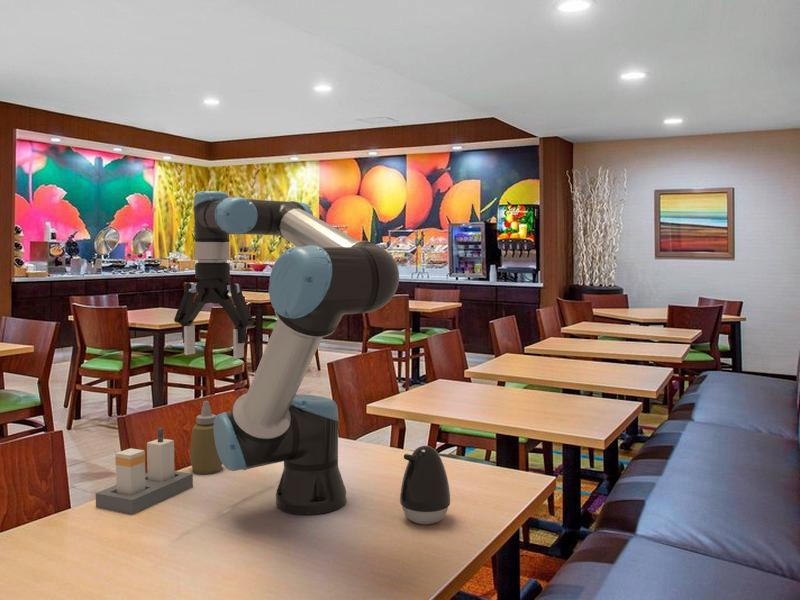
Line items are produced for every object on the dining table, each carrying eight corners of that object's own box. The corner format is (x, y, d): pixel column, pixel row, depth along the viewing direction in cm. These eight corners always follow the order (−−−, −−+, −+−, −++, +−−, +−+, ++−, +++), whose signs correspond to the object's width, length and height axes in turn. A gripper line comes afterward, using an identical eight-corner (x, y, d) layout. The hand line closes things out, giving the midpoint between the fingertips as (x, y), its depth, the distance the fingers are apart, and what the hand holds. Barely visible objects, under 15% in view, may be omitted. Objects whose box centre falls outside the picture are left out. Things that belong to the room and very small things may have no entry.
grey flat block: (193, 491, 153) (192, 473, 152) (132, 519, 136) (132, 500, 136) (158, 484, 156) (158, 468, 156) (96, 511, 140) (95, 493, 140)
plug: (131, 507, 139) (130, 455, 139) (116, 504, 141) (115, 453, 140) (146, 501, 143) (145, 450, 142) (131, 498, 145) (130, 448, 144)
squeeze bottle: (214, 480, 160) (213, 405, 159) (183, 478, 161) (182, 404, 160) (229, 469, 168) (229, 398, 167) (200, 467, 169) (199, 397, 168)
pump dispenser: (389, 517, 138) (389, 444, 137) (428, 506, 144) (429, 436, 143) (419, 534, 130) (420, 456, 129) (460, 521, 136) (461, 447, 135)
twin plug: (174, 488, 151) (173, 427, 150) (161, 494, 148) (160, 431, 147) (160, 485, 153) (159, 425, 152) (147, 491, 149) (146, 429, 148)
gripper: (269, 262, 149) (270, 357, 150) (180, 261, 159) (181, 350, 160) (248, 262, 142) (249, 362, 143) (156, 261, 152) (158, 354, 153)
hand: (213, 356), depth 152 cm, fingers open, 13 cm apart
